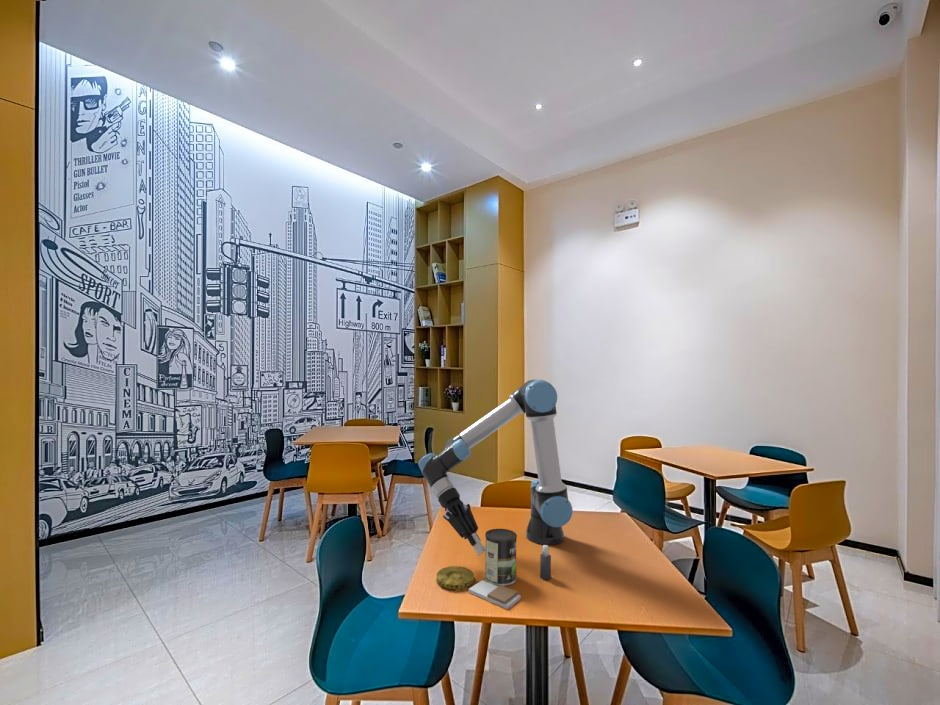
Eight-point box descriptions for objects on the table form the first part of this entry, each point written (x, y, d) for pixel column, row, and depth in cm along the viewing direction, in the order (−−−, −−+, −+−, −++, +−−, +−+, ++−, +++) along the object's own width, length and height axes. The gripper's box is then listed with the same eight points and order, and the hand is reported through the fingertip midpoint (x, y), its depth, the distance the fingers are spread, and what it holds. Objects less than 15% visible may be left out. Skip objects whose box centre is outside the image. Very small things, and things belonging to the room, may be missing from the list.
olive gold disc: (479, 577, 134) (479, 570, 134) (465, 595, 123) (465, 587, 123) (446, 570, 139) (446, 563, 139) (429, 586, 128) (429, 579, 128)
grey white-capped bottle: (543, 574, 137) (543, 543, 137) (552, 577, 134) (552, 546, 135) (538, 577, 134) (538, 546, 134) (547, 581, 132) (547, 549, 132)
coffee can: (519, 574, 136) (519, 530, 137) (512, 589, 127) (512, 542, 127) (489, 568, 140) (490, 526, 140) (480, 583, 130) (481, 537, 131)
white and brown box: (482, 583, 130) (482, 577, 130) (520, 599, 121) (520, 592, 121) (468, 592, 124) (468, 586, 124) (507, 609, 115) (507, 602, 115)
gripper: (452, 494, 156) (486, 552, 145) (428, 502, 146) (463, 565, 134) (463, 483, 153) (499, 540, 142) (439, 490, 143) (476, 553, 131)
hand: (482, 552), depth 138 cm, fingers closed
